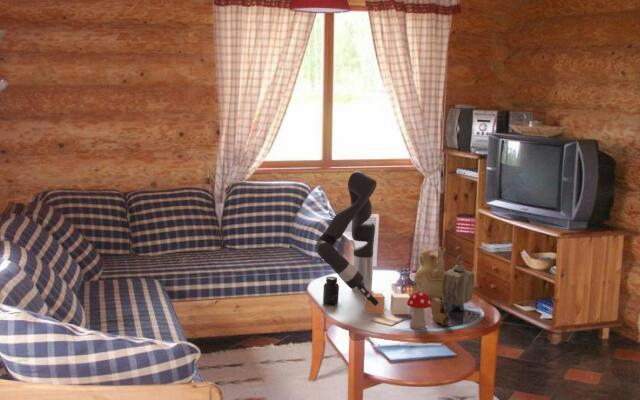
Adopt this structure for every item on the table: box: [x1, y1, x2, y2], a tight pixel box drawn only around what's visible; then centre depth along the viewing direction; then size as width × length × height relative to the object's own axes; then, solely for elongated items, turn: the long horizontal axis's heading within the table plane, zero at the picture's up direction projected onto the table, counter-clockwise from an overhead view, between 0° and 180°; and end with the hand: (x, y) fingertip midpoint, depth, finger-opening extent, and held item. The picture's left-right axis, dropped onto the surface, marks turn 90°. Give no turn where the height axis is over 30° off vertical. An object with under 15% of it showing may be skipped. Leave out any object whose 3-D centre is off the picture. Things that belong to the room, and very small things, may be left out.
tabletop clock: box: [441, 254, 475, 312], centre depth 328 cm, size 14×9×25 cm, turn 145°
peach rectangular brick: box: [364, 292, 386, 315], centre depth 322 cm, size 7×5×8 cm
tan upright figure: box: [413, 246, 446, 300], centre depth 349 cm, size 17×20×25 cm
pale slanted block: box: [390, 293, 411, 315], centre depth 322 cm, size 7×5×8 cm
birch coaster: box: [370, 313, 404, 327], centre depth 311 cm, size 10×10×1 cm
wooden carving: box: [429, 298, 450, 326], centre depth 311 cm, size 16×5×10 cm, turn 17°
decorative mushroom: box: [407, 291, 432, 330], centre depth 303 cm, size 10×9×15 cm
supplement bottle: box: [322, 276, 340, 307], centre depth 330 cm, size 7×7×12 cm
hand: (375, 301), depth 321 cm, fingers open, 8 cm apart
